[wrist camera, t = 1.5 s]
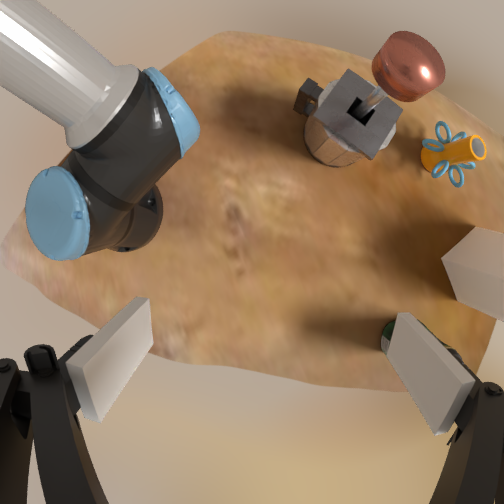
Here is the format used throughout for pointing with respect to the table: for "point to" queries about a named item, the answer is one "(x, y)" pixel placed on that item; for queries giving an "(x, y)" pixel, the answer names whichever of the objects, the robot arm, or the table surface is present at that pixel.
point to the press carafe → (344, 120)
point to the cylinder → (451, 153)
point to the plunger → (403, 71)
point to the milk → (478, 271)
